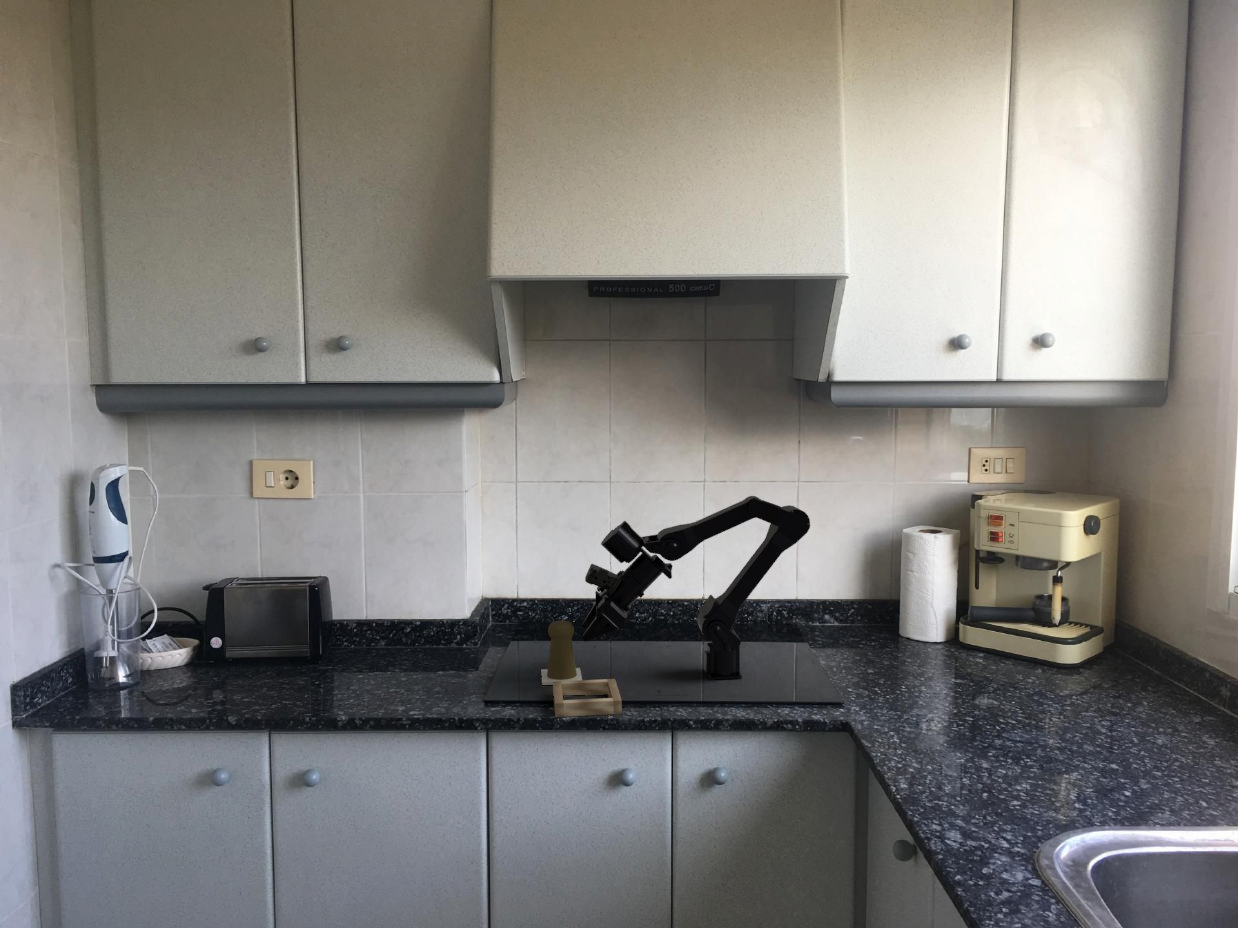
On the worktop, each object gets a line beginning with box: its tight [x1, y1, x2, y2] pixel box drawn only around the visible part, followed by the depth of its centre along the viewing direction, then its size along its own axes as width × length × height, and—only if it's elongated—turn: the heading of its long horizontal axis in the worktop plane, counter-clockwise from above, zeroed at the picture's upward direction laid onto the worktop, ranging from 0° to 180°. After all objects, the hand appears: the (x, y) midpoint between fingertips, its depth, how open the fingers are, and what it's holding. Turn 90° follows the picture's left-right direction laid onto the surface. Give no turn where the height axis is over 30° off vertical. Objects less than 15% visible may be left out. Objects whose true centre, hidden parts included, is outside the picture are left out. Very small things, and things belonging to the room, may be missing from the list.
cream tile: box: [540, 667, 583, 686], centre depth 183 cm, size 8×8×1 cm
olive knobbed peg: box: [547, 620, 577, 680], centre depth 182 cm, size 6×6×11 cm
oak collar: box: [552, 678, 623, 718], centre depth 168 cm, size 12×12×2 cm
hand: (583, 633), depth 182 cm, fingers open, 9 cm apart
